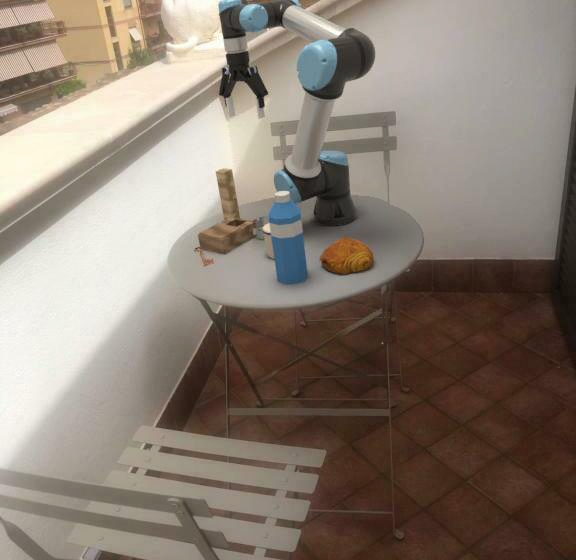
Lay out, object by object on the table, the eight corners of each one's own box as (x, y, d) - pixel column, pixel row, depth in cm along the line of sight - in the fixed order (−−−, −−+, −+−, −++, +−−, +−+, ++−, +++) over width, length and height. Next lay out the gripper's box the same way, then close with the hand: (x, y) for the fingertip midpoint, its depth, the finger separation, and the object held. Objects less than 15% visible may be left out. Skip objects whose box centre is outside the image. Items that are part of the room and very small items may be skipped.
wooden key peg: (232, 221, 208) (223, 168, 199) (241, 223, 205) (232, 169, 196) (225, 225, 205) (215, 171, 196) (233, 227, 203) (224, 172, 194)
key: (217, 265, 178) (211, 247, 191) (217, 262, 178) (210, 244, 191) (199, 268, 177) (193, 249, 190) (198, 265, 176) (193, 246, 189)
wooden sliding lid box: (232, 230, 200) (230, 216, 198) (256, 235, 194) (254, 220, 191) (200, 248, 189) (197, 233, 187) (224, 254, 183) (221, 238, 181)
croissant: (355, 255, 177) (352, 230, 174) (382, 267, 163) (379, 240, 160) (313, 267, 172) (309, 241, 169) (337, 280, 158) (333, 252, 156)
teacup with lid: (297, 257, 175) (292, 221, 170) (267, 261, 175) (262, 226, 169) (291, 241, 186) (287, 208, 180) (263, 246, 185) (258, 212, 180)
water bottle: (284, 287, 159) (272, 202, 147) (271, 275, 166) (259, 192, 155) (314, 278, 161) (305, 193, 150) (300, 266, 169) (290, 185, 158)
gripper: (273, 48, 183) (281, 115, 193) (217, 50, 198) (227, 113, 208) (258, 52, 178) (267, 121, 188) (201, 54, 193) (213, 118, 203)
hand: (246, 117), depth 198 cm, fingers open, 13 cm apart
